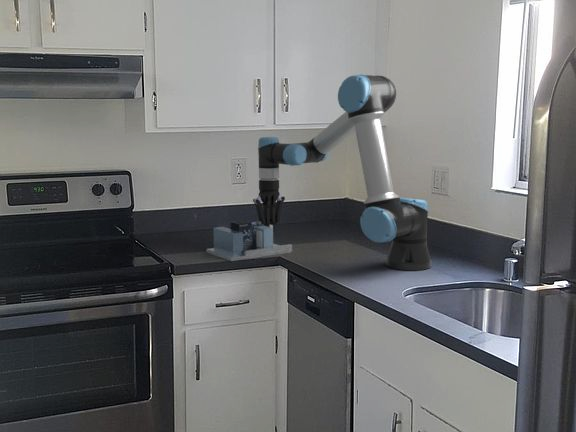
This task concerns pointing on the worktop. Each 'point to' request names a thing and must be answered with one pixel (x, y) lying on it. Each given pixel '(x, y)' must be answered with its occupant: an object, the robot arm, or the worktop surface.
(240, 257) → the vise base
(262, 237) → the block
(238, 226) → the box
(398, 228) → the robot arm
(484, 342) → the worktop surface
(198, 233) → the worktop surface
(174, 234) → the worktop surface
